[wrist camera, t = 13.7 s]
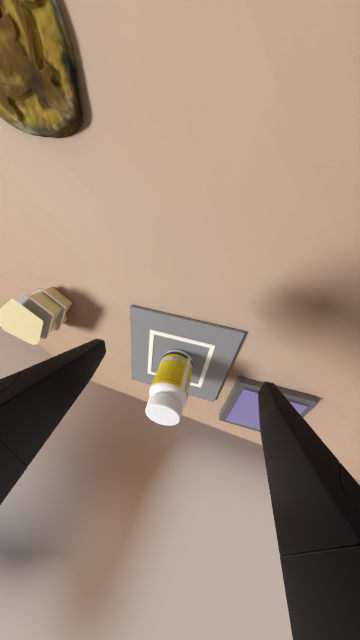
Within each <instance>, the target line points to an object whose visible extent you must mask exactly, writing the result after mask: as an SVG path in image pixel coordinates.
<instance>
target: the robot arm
mask: <svg viewBox="0 0 360 640" xmlns="http://www.w3.org/2000/svg"><path fill="white" fill-rule="evenodd" d="M105 353H106V348H105V342H104V340H101V339H95V340H92V341H90V342H88V343H85V344H83V345H81V346H78V347H76V348H74V349H71V350H69V351H66V352H64V353H62V354H59V355H57V356H55V357H52V358H50V359H48V360H46V361H43V362H41V363H38V364H36V365H33V366H31V367H29V368H26V369H24V370H22V371H19V372H17V373H15V374H12V375H10V376H7V377H5V378H2V379H0V505H1V503H2V502H3V500H4V499H5V498H6V496H7V495H8V493H9V492H10V491H11V489H12V488H13V487H14V485H15V484H16V482H17V481H18V480H19V478H20V477H21V475H22V474H23V473H24V471H25V470H26V468H27V466H28V465H29V464H30V463H31V461H32V460H33V459H34V457H35V456H36V454H37V453H38V451H39V450H40V449H41V447H42V446H43V445H44V443H45V442H46V440H47V439H48V438H49V436H50V435H51V434H52V432H53V431H54V429H55V428H56V427H57V425H58V424H59V422H60V421H61V420H62V418H63V417H64V416H65V414H66V413H67V411H68V410H69V409H70V407H71V406H72V404H73V403H74V402H75V400H76V399H77V397H78V396H79V394H80V393H81V392H82V390H83V389H84V388H85V386H86V385H87V384H88V382H89V381H90V379H91V378H92V376H93V375H94V373H95V371H96V369H97V368H98V366H99V364H100V362H101V361H102V359H103V357H104V356H105ZM258 404H259V423H260V431H261V438H262V444H263V450H264V456H265V463H266V469H267V475H268V482H269V489H270V495H271V501H272V508H273V514H274V521H275V527H276V533H277V540H278V546H279V552H280V555H281V556H280V560H281V566H282V572H283V579H284V585H285V591H286V598H287V604H288V610H289V617H290V623H291V630H292V636H293V640H360V485H359V484H358V483H357V482H356V481H355V479H354V478H353V477H352V476H351V475H350V474H349V472H348V471H347V470H346V469H345V468H344V466H343V465H342V464H341V463H339V461H338V459H337V458H336V457H335V456H334V455H333V453H332V452H331V451H330V450H329V449H328V447H327V446H326V445H325V444H324V443H323V441H322V440H321V439H320V438H319V437H318V435H317V434H316V433H315V432H314V431H313V429H312V428H311V427H310V426H309V425H308V423H307V422H306V421H305V420H304V419H303V417H302V416H301V415H300V414H299V413H298V411H297V410H296V409H295V408H294V407H293V405H292V404H291V403H290V402H289V401H288V399H287V398H286V397H285V396H284V395H283V394H282V392H281V391H280V390H279V389H278V388H277V386H276V385H275V384H274V383H270V382H264V384H263V385H262V387H261V388H260V390H259V392H258Z"/></svg>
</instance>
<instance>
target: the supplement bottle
mask: <svg viewBox="0 0 360 640" xmlns="http://www.w3.org/2000/svg"><path fill="white" fill-rule="evenodd" d="M192 370H193V360H192V358H191V357H190V356H189V355H188V354H187V353H185V352H184V351H181V350H170V351H168V352H166V353H165V354H164V356H163V358H162V360H161V363H160V365H159V368H158V370H157V372H156V375H155V377H154V380H153V382H152V385H151V387H150V391H149V395H150V398H149V400H148V403H147V407H146V410H145V412H146V415H147V416H148V417H149V418H150V419H151V420H152V421H154V422H156V423H159V424H162V425H169V426H170V425H175V424H177V423H179V421H180V418H181V414H182V408H183V407H184V406H185V404H186V402H187V399H188V393H189V387H190V381H191V376H192Z"/></svg>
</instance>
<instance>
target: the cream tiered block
mask: <svg viewBox="0 0 360 640" xmlns="http://www.w3.org/2000/svg"><path fill="white" fill-rule="evenodd" d="M71 304H72V302H71V301H70V300H68V299H67V298H66V297H65V296H64V295H62V294H61V293H60V292H59V291H57V290H56V289H55V288H54V287H50V288H48V289H46V290H44V289H42V288H39V289H38V290H36V291H35V292H34V293H32V294H31V295H30V296H29V295H28V294H23V295H22V296H21V297H20V298H18V299H17V300H14V299H11V300H10V301H9V302H8V303H7V304H5V305H4V306H3V307H2V308H1V309H0V326H1V327H2V329H3V330H5V331H6V332H8V333H10V334H12V335H14V336H16V337H18V338H20V339H22V340H24V341H26V342H28V343H30V344H34V345H36V344H38V343H39V340H40V339H45V338H47V337H48V336H49V333H50V332H51V331H52V330H53V331H57V330H58V329H60V327H61V324H63V323H64V322H66V320H67V317H66V315H65V314H66V312H67V311H68V309H69V308H70V306H71Z"/></svg>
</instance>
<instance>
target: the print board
mask: <svg viewBox="0 0 360 640" xmlns="http://www.w3.org/2000/svg"><path fill="white" fill-rule="evenodd" d="M130 318H131V365H132V379H133V380H136V381H140V382H144V383H147V384H151V385H152V382H153V380H154V377H155V375H156V372H157V370H158V368H159V365H160V363H161V360H162V358H163V356H164V354H165V353H166V352H168V351H170V350H181V351H184V352H185V353H187V354H188V355H189V356H190V357H191V358H192V360H193V370H192V376H191V381H190V387H189V393H188V395H190V396H194V397H198V398H201V399H205V400H208V401H212V402H214V401H215V398H216V396H217V394H218V392H219V390H220V387H221V385H222V383H223V381H224V378H225V376H226V374H227V372H228V370H229V367H230V365H231V363H232V361H233V358H234V356H235V354H236V352H237V350H238V347H239V345H240V343H241V341H242V339H243V336H244V334H245V332H244V331H241V330H237V329H233V328H228V327H224V326H220V325H216V324H211V323H207V322H203V321H198V320H194V319H190V318H186V317H181V316H177V315H173V314H168V313H164V312H160V311H156V310H151V309H147V308H143V307H138V306H134V305H131V306H130Z"/></svg>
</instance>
